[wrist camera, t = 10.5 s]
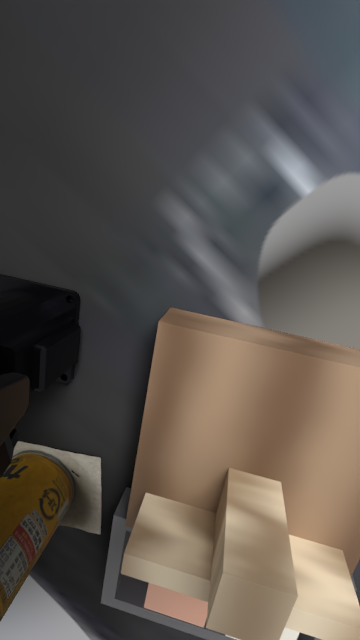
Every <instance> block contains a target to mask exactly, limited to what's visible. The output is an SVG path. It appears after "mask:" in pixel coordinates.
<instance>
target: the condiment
mask: <svg viewBox="0 0 360 640" xmlns="http://www.w3.org/2000/svg"><path fill="white" fill-rule="evenodd" d="M72 470H73V471H74V472H75V473H76V474H78V475H79V477H77V476H76V475H75V473H72V472H71V471H72ZM101 489H102V488H101V458H100V457H95V456H88V455H84V454H76V453H72V452H68V451H61V450H58V449H53V448H49V447H45V446H41V445H35V444H30V443H25V442H20V441H18V442H17V444H16V446H15V448H14V452H13V456H12V461H11V463H10V465H9V466H8V468H7V469H6V471H5V472H4V474H3V475H2V477H1V478H0V621H1V619H2V618H3V616H4V614H5V613H6V611H7V609H8V608H9V606H10V604H11V603H12V601H13V599H14V598H15V596H16V595H17V593H18V591H19V590H20V588H21V586H22V585H23V583H24V581H25V580H26V578H27V577H28V575H29V573H30V571H31V570H32V568H33V566H34V565H35V563H36V562H37V560H38V558H39V557H40V555H41V553H42V552H43V550H44V549H45V547H46V545H47V544H48V542H49V540H50V539H51V537H52V535H53V534H54V532H55V530H56V529H57V527H58V525H61V526H69V527H71V528H78V529H82V530H84V531H87V532H89V533H95V534H101V491H102V490H101Z"/></svg>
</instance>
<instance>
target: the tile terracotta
mask: <svg viewBox="0 0 360 640" xmlns="http://www.w3.org/2000/svg"><path fill="white" fill-rule="evenodd" d="M144 608H146V609H149V610H152V611H155V612H158V613H161V614H164V615H167V616H170V617H173V618H176V619H179V620H182V621H185V622H188V623H191V624H194V625H197V626H200V627H203V628H204V625H205V622H206V618H207V610H208V602H206V601H203V600H200V599H197V598H194V597H191V596H188V595H185V594H182V593H178V592H175V591H172V590H169V589H166V588H163V587H160V586H157V585H154V584H151V583H149V584H148V589H147V594H146V599H145V604H144Z"/></svg>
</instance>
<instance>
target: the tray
mask: <svg viewBox="0 0 360 640" xmlns="http://www.w3.org/2000/svg"><path fill="white" fill-rule="evenodd" d="M130 493H131V488H127V487H126V488H125V491H124V493H123V495H122V497H121V500H120V502H119V504H118V506H117V509H116V511H115V513H114V516H113V523H112V530H111V537H110V543H109V550H108V557H107V564H106V571H105V577H104V584H103V591H102V598H101V603H102V604H105V605H107V606H110V607H113V608H116V609H119V610H122V611H125V612H128V613H131V614H134V615H137V616H140V617H142V618H145V619H148V620H151V621H154V622H157V623H160V624H163V625H166V626H169V627H172V628H175V629H177V630H180V631H183V632H186V633H189V634H192V635H195V636H198V637H201V638H204V639H207V640H236V639H233V638H230V637H227V636H225V634H222V633H220V632H217V631H214V630H211V629H208V628H206V622H205V625H204V628H203V627H200V626H197V625H194V624H191V623H188V622H185V621H182V620H179V619H176V618H173V617H170V616H167V615H164V614H161V613H158V612H155V611H152V610H149V609H146V608H144V604H145V599H146V594H147V589H148V584H149V583H148V582H145V581H142V580H139V579H136V578H133V577H130V576H127V575H124V574H121V569H122V563H123V557H124V552H125V549H126V546H127V544H128V541H129V538H130V535H131V532H132V530H133V528H130V527H127V526H125V524H126V518H127V512H128V505H129V499H130ZM351 580H352V583H353V586H354V590H355V593H356V591H357V589H356V586H355V582H354V579H353V576H352V575H351ZM206 621H207V618H206ZM297 640H322V639H319V638H316V637H313V636H310V635H307V634H303V633H299V636H298V638H297Z"/></svg>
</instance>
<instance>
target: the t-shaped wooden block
mask: <svg viewBox="0 0 360 640" xmlns="http://www.w3.org/2000/svg"><path fill="white" fill-rule="evenodd" d="M121 574H124V575H127V576H130V577H133V578H136V579H139V580H142V581H145V582H148V583H151V584H154V585H157V586H160V587H163V588H166V589H169V590H172V591H175V592H178V593H182V594H185V595H188V596H191V597H194V598H197V599H200V600H203V601H206V602H208V610H207V621H206V628H208V629H211V630H214V631H217V632H220V633H222V634H225V635H228V636H231V637H234V638H237V639H240V640H280V637H281V635H282V633H283V630H284V628H288V629H291V630H294V631H297V632H300V633H303V634H307V635H310V636H313V637H316V638H319V639H322V640H360V606H359V603H358V599H357V596H356V593H355V590H354V586H353V583H352V580H351V576H350V573H349V570H348V567H347V563H346V560H345V557H344V553H343V550H340V549H336V548H333V547H330V546H326V545H323V544H319V543H316V542H313V541H309V540H306V539H302V538H299V537H296V536H292V535H289V532H288V526H287V519H286V512H285V505H284V499H283V492H282V485H281V482H279V481H275V480H272V479H268V478H264V477H261V476H257V475H253V474H250V473H246V472H243V471H239V470H235V469H232V468H229V469H228V472H227V476H226V480H225V483H224V487H223V491H222V494H221V498H220V501H219V505H218V509H217V512H216V513H214V512H211V511H207V510H204V509H200V508H197V507H194V506H190V505H187V504H183V503H180V502H177V501H173V500H170V499H166V498H163V497H160V496H156V495H153V494H149V493H145V496H144V499H143V502H142V504H141V507H140V510H139V513H138V516H137V518H136V521H135V524H134V527H133V530H132V532H131V535H130V538H129V541H128V544H127V546H126V549H125V552H124V557H123V563H122V569H121Z"/></svg>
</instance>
